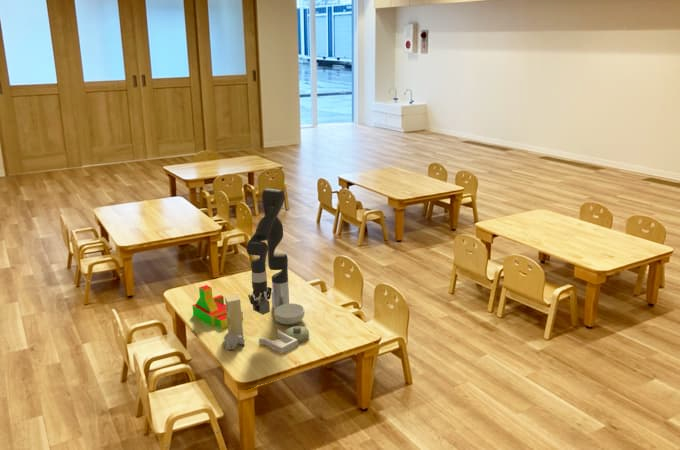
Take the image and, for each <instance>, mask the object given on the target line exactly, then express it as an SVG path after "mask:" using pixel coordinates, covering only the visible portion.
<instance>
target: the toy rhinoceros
mask: <svg viewBox="0 0 680 450" xmlns="http://www.w3.org/2000/svg"><path fill="white" fill-rule="evenodd" d="M244 337H245V336H244V335H243V336H241V334H240V335H239V336H238V335H237V334H236V333H235V332H227V333H226V334H225V335H224V340H223V342H222V343H221V347H223V348H225V349H226V350H232V351H235V350H236V345H237V344H239V345H240V346H241V345H244V344H245V341H246V338H244Z"/></svg>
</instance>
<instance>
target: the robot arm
mask: <svg viewBox="0 0 680 450" xmlns="http://www.w3.org/2000/svg"><path fill="white" fill-rule="evenodd" d="M285 198H286V197H285V192H284V191H283V190H281V189H276V188H264V189H263V191H262V193H261V201H262V208H263V212H264V216H263V217H262V218H261V219H260V220H259V221H258V224H257V227H256V229H255V232H254V233H253V235H251V238H250V239H249V240H248V242H247V244H246V253H247V254H249V256H257V258H252V259H251V262H250V266H251V286H252V287H251V288H252V293H251V294H248V295H247V297H248V299H249V302H250V305H252V306H253V305H254V306H255V310H256V311H257V312H256V311H255V312H256V313H258V312H259V301H260V298H261V297H263V299H265V300H268V301H269V300H270V299H271V303H272V305H271V307H272V308H273V311H274V310H275V308H276V307H278V306H280V305H283V304H290V292H289V291H290V290H289V288H290V287H289V273H288V272H289V271H288V268H289V267H288V265H289V263H288V261H289V259H288V254H287V253H275V250H276V249H277V247H278V245H279V244H280V243H281V241H282V239H283V238H284V228H283V227H284V226H283V223H282V221H281V219H280V218H279V217H278V215H279V213H280V211H281V209H282V208H283V205H284V202H285ZM265 241H266V242H265ZM258 256H259V257H258ZM266 260H267V264H268V269H269V270H270V271H279V272H276V273H274V274H273V275H272V276H271V284H272V285H271V287H270V286H268V276H267V269H266V268H267V266H266ZM257 298H258V299H257ZM256 301H257V302H256Z"/></svg>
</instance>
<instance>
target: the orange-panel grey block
mask: <svg viewBox="0 0 680 450" xmlns="http://www.w3.org/2000/svg"><path fill="white" fill-rule="evenodd" d="M257 299H258V298H257ZM256 302H257V301H256ZM252 310H253V311H255V312H256V313H258V314H261V315H263V316H264V315H266V314H268V313H271V312H270V311H271V309H270V301H269V299H268V300H265V299H263V297H261V298H260V301H259V312H257V311H256V310H255V306H254V305H252Z"/></svg>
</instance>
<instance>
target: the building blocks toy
mask: <svg viewBox="0 0 680 450" xmlns="http://www.w3.org/2000/svg"><path fill="white" fill-rule="evenodd" d="M198 290H199V297H198V299H197V301H196V303H195V304H192V316H194V317H196V319H199V320H200V321H202V322H203V323H205V324H207V325H209V326H210V327H213V326H216V327H218V328H220V329H224V328H226V327H227V328H228V324H227V313H226V303H225V297H224V295H222V294H219V295H217V296H214V297H213V290H212V287H211V286H210V285H208V284H206V285H201V286H200V287H198ZM241 316H242V321H244V315H243V311H241Z"/></svg>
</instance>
